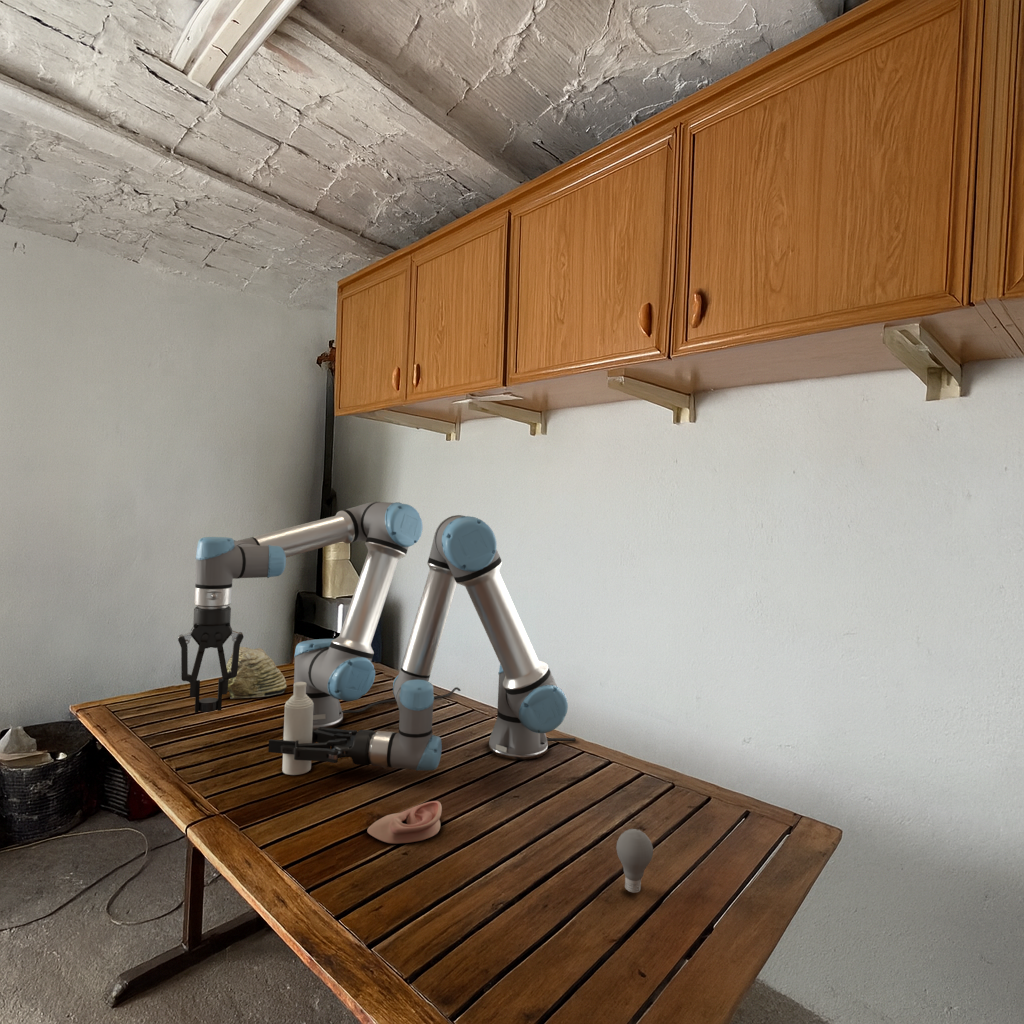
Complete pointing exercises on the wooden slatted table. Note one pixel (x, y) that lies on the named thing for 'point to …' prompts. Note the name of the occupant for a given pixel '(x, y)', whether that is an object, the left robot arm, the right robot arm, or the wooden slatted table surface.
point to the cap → (208, 704)
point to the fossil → (255, 675)
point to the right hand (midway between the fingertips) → (276, 739)
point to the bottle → (297, 727)
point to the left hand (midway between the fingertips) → (208, 709)
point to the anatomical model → (408, 824)
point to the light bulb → (634, 857)
